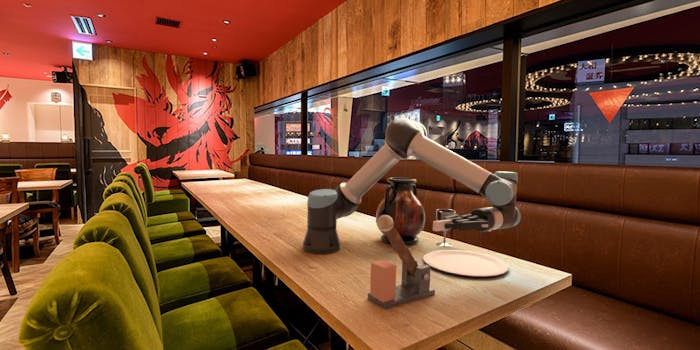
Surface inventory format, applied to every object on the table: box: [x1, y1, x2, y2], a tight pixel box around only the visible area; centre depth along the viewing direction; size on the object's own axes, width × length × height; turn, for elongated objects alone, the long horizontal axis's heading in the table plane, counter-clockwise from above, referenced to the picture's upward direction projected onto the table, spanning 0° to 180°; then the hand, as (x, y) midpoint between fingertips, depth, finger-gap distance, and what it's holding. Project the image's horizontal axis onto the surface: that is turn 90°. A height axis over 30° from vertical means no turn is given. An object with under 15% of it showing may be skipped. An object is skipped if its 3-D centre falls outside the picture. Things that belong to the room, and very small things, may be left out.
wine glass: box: [435, 208, 456, 248], centre depth 154 cm, size 8×8×15 cm
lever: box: [376, 215, 419, 278], centre depth 98 cm, size 4×4×23 cm
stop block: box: [369, 259, 397, 302], centre depth 95 cm, size 4×6×9 cm
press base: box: [367, 260, 436, 310], centre depth 99 cm, size 18×9×8 cm, turn 124°
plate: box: [422, 249, 510, 278], centre depth 129 cm, size 29×29×2 cm
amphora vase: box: [375, 176, 426, 247], centre depth 157 cm, size 22×22×28 cm
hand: (434, 226), depth 104 cm, fingers closed
